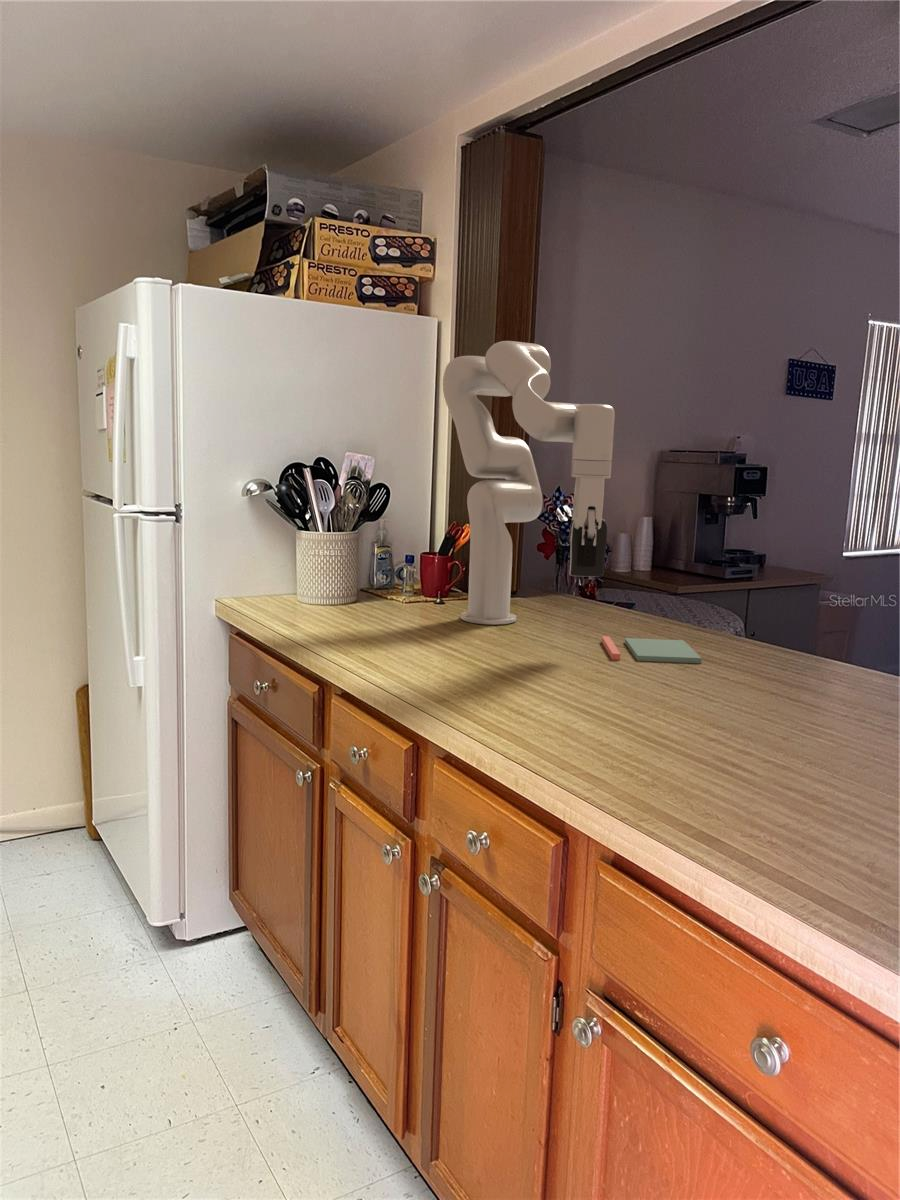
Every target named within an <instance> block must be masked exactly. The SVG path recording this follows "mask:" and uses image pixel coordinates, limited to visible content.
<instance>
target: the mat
mask: <svg viewBox="0 0 900 1200" xmlns="http://www.w3.org/2000/svg"><path fill="white" fill-rule="evenodd" d="M624 644H625V646H626V647H627V648H628V650H629V652H630V653H631V654H632V655H633V657H634V658H635V659H636V661H638V662H659V663H661V662H662V663H663V662H664V663H682V664H683V663H684V664H685V663H686V664H688V663H689V664H702V660H703V658H702V656H700V655H699V654H698V653H697V652H696V650H694V649H693V648H692V647H691V646H690V645H689V644H688V643H687V642H686V641H685V640H684V639H661V638H660V639H659V638H658V639H657V638H635V637H633V638H632V637H625V638H624Z"/></svg>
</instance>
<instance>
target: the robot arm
mask: <svg viewBox="0 0 900 1200" xmlns="http://www.w3.org/2000/svg"><path fill="white" fill-rule="evenodd" d="M551 364H552V362H551V356H550V354H549V352H548V351H547V350H546V348H545V347H544V346H542V345H540V344H537V343H530V342H523V341H515V340H514V341H513V340H502V341H499V342H495V343H494V344H492V345H491V346H490V347H489V348H488V349H487V351H486V353H485V355H484V356H480V355H461V356H457V357H455V358H453V359H451V360H450V361H449V362H448V363H447V364H446V367H445V368H444V369H445V370H444V373H443V379H442V391H443V396H444V397H443V398H444V402H445V404H446V406H447V408H448V412H450V413H449V414H450V415H451V418H452V420H453V422H454V425H455V429H456V434H457V438H458V443H459V446H460V450H461V454H462V455H461V456H462V459H463V462H464V463H463V464H464V465H465V466H464V467H465V468H466V471H467V473H468V474H469V475H470V476H471V477H473V478H474V477H475V478H479V479H484V480H481V481H478V482H476V483H474V485H472V486H471V487H470V489H469V491H468V493H467V498H466V504H467V511H468V519H469V532H470V533H469V534H470V535H469V536H470V537H469V538H470V539H469V541H470V542H469V567H468V568H469V569H468V570H469V573H468V574H469V575H468V593H467V594H468V599H467V602H468V603H467V610H466V611H463V612H461V613H460V619H461V620H463V621H465V622H467V623H471V624H480V625H492V626H493V625H494V626H495V625H496V626H497V625H508V624H512V623H515V622H516V621H517V615H516V614H514V613H512V612H510V611H511V590H512V567H513V540H512V536H511V534H510V532H509V530H508V528H507V526H506V524H507V523H528V522H531V521H534V520H536V519H537V518H538V517H539V516H540V514H542V513H541V512H542V509H543V492H542V489H541V484H540V481H539V476H538V473H537V468H536V466H535V462H534V458H533V454H532V452H531V448H530V447H529V445H528V444H527V443H526V441H524V440H523V439H521V438H519V437H515V436H504V435H503V436H501V435H500V434H498V433H497V432H496V428H495V426H494V421H493V418H492V414H490V411H489V410H488V409H487V407H486V406H485V404H484V403H483V402H482V401H481V400H480V399H478V397H477V396H488V397H491V396H492V397H512V399H511V400H512V402H511V406H512V413H513V416H514V419H515V421H516V422H517V423H518V425H519V426H520V428H522V429H523V430H524V432H525V433H527V434H528V435H529V436H530V437H532V438H533V439H535V440H537V441H539V442H540V441H541V442H555V443H557V442H558V443H570V444H571V443H572V457H571V472H570V475H571V476H570V477H571V478H575V483H574V484H575V485H574V493H573V506H572V515H571V516H572V517H571V521H572V520H574V527H575V528H576V529H579V527H582V530H581V531H582V533H581V545H579V562H578V565H579V566H586V567H594V566H595V563H596V547H597V546H596V532H597V530H599V529H600V528H601V522H602V519H603V511H604V496H605V479H611V477H612V476H611V475H612V459H613V450H614V449H613V447H614V435H615V414H616V413H615V409H614V407H613V406H611V405H609V404H603V403H568V402H556V401H552V402H551V401H545V400H544V399H545V398H546V396H547V395H548V393H549V391H550V387H551V383H552V381H551V376H550V372H551V369H552V365H551ZM597 522H599V523H598V526H597ZM584 526H588V529H584ZM597 527H598V529H597Z"/></svg>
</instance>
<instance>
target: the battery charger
mask: <svg viewBox="0 0 900 1200" xmlns="http://www.w3.org/2000/svg"><path fill="white" fill-rule="evenodd" d="M598 523H599V522H597V526H598ZM584 529H588V526H584ZM597 529H598V527H597ZM581 530H582V527H579V529H576V528H575V527H574V520H572V519H571V521H570V525H569V535H568V544H569V545H570V546H569V547H570V548H569V557H570V558H569V568H568V573H569V576H572V577H589V578H590V577H594V578H595V577H603V576H604V574H605V573H604V572H605V571H604V570H605V569H604V568H605V558H606V550H607V549H606V548H607V541H608V540H607V539H608V523H607V522H606V520H605V519H603V518H602V522H601V528H600V529H599V530H597V532H596V546H597V547H596V563H595V566H594V567H586V566H579V565H578V562H579V545H581V533H582V531H581Z"/></svg>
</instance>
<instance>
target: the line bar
mask: <svg viewBox="0 0 900 1200" xmlns="http://www.w3.org/2000/svg"><path fill="white" fill-rule="evenodd" d="M601 644H602V645H603V647H604V648H605V651H606V652H607V654H608V655H609V657H610V659H611V660H612V661H620V660H621V653H620V651H619V649H618V648H617V645H615V643H614V641H613V640H612V638H611V637H610V636H609V635H607V636H606V635H602V636H601Z"/></svg>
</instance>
